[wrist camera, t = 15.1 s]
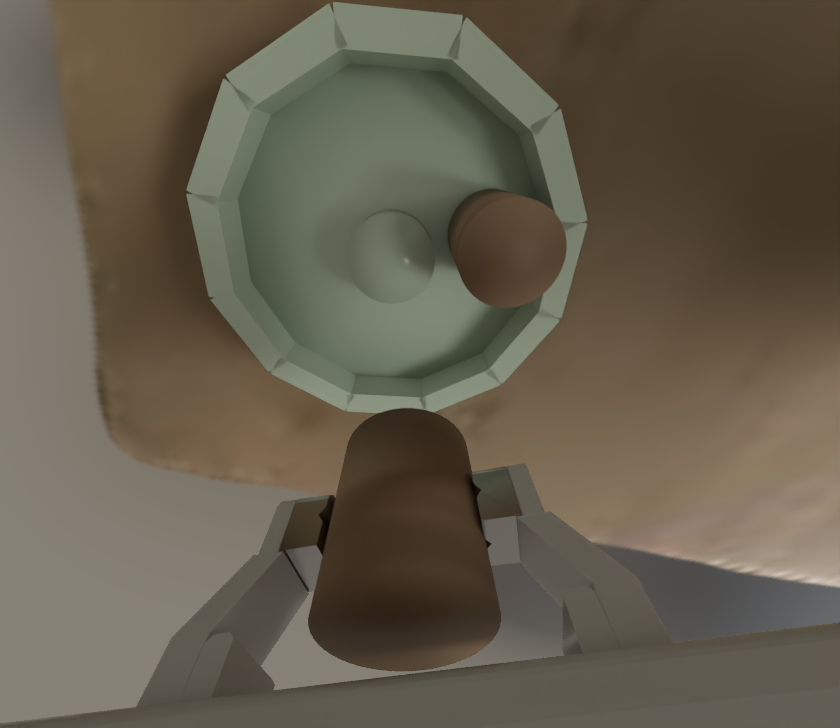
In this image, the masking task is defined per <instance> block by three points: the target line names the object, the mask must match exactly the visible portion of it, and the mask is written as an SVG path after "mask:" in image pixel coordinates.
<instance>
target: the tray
mask: <svg viewBox="0 0 840 728" xmlns="http://www.w3.org/2000/svg"><path fill="white" fill-rule="evenodd" d="M333 9H334V12H333V10H332V8H331V6H330V4H329V3H328V4H327V5H325V6H324V7H323V8H321V9H320V10H318V11H317V12H315V13H314V14H313V15H311V16H310V17H308V18H307V19H305V20H304V21H302V22H301V23H300V24H298V25H297V26H295V27H294V28H292V29H291V30H290V31H288V32H287V33H285V34H284V35H282V36H281V37H279V38H278V39H277V40H275V41H274V42H272V43H271V44H269V45H268V46H267V47H265V48H264V49H262V50H261V51H259V52H258V53H256V54H255V55H254V56H252V57H251V58H249V59H248V60H246V61H245V62H243V63H242V64H241V65H239V66H238V67H236V68H235V69H233V70H232V71H231V72H229V73H228V74H226V76H227V78H228V80H229V81H228V80H226V79H224V78H223V81H222V84H221V87H220V90H219V93H218V96H217V99H216V102H215V105H214V108H213V111H212V114H211V117H210V120H209V123H208V126H207V129H206V132H205V135H204V138H203V141H202V144H201V147H200V150H199V153H198V156H197V159H196V162H195V165H194V168H193V171H192V174H191V177H190V180H189V183H188V186H187V189H186V190H187V191H189V192H190V193H189V194H186V196H187V200H188V205H189V209H190V214H191V218H192V223H193V227H194V232H195V236H196V241H197V246H198V250H199V255H200V259H201V264H202V268H203V273H204V277H205V282H206V286H207V291H208V296H209V297H214V298H212V299H211V301H212V303H213V304H214V305H215V306H216V308H217V309H218V310H219V311H220V313H221V314H222V315H223V316H224V318H225V319H226V320H227V321H228V322H229V324H230V325H231V326H232V327H233V329H234V330H235V331H236V332H237V334H238V335H239V336H240V337H241V339H242V340H243V341H244V342H245V344H246V345H247V346H248V347H249V349H250V350H251V351H252V352H253V354H254V355H255V356H256V357H257V358H258V360H259V361H260V362H261V363H262V365H263V366H264V367H265V368H266V370H267V371H268V372H269V371H271V370H272V372H271V374H272V375H274V376H276V377H278V378H280V379H282V380H284V381H286V382H288V383H290V384H292V385H294V386H296V387H298V388H300V389H302V390H304V391H306V392H308V393H310V394H312V395H314V396H316V397H318V398H320V399H322V400H324V401H326V402H328V403H330V404H332V405H334V406H336V407H338V408H340V409H342V410H344V411H345V409H346V408H347V412H367V413H381V412H384V411H388V410H392V409H399V408H416V409H422V410H427V411H430V412H435V411H438V410H440V409H443V408H445V407H448V406H450V405H453V404H455V403H458V402H460V401H463V400H465V399H468V398H470V397H473V396H475V395H477V394H480V393H482V392H485V391H487V390H490V389H492V388H495V387H497V386H500V383H502V384H503V383H504V382H505V380H506V379H507V378H508V377H509V376H510V375H511V374H512V373H513V372H514V371H515V370H516V368H517V367H518V366H519V365H520V364H521V363H522V362H523V361H524V360H525V359H526V357H527V356H528V355H529V354H530V353H531V352H532V351H533V350H534V349H535V348H536V347H537V345H538V344H539V343H540V342H541V341H542V340H543V339H544V338H545V337H546V336H547V334H548V333H549V332H550V331H551V330H552V329H553V328H554V327H555V326H556V325H557V324H558V322H559V321H560V320H559V319H558V318H562V315H563V311H564V307H565V304H566V300H567V296H568V293H569V289H570V286H571V282H572V278H573V275H574V271H575V268H576V264H577V260H578V257H579V253H580V249H581V246H582V242H583V239H584V235H585V231H586V228H587V223H584V221H587V220H588V219H587V215H586V211H585V206H584V202H583V198H582V194H581V190H580V186H579V182H578V178H577V173H576V169H575V165H574V161H573V157H572V153H571V149H570V144H569V140H568V136H567V132H566V128H565V124H564V120H563V116H562V111H561V109H559V110H556V108H557V107H558V104H557V103H556V102H555V101H554V100H553V99H552V98H551V97H550V96H549V95H548V94H547V93H546V92H545V91H544V90H543V89H542V88H540V87H539V86H538V85H537V84H536V83H535V82H534V81H533V80H532V79H531V78H530V77H529V76H528V75H527V74H526V73H525V72H524V71H523V70H522V69H521V68H520V67H519V66H517V65H516V64H515V63H514V62H513V61H512V60H511V59H510V58H509V57H508V56H507V55H506V54H505V53H504V52H503V51H502V50H501V49H500V48H499V47H498V46H497V45H495V44H494V43H493V42H492V41H491V40H490V39H489V38H488V37H487V36H486V35H485V34H484V33H483V32H482V31H481V30H480V29H479V28H478V27H477V26H476V25H475V24H473V23H472V22H471V21H470V20H469V19H468V18H467V17H466V19H465V21H464V23H463V25H462V17H463V15H457V14H447V13H437V12H427V11H418V10H408V9H398V8H388V7H378V6H368V5H359V4H349V3H339V2H333ZM555 110H556V111H555ZM485 189H499V190H504V191H507V192H511V193H514V194H517V195H521V196H524V197H528V198H531V199H534V200H537V201H540V202H542V203H543V204H545V205H547V206H548V207H549V208H550V209H552V210H553V211H554V213H555V214H556V215H557V216H558V218H559V219H560V221H561V223H562V225H563V227H564V231H565V234H566V241H567V249H566V257H565V261H564V264H563V267H562V270H561V271H560V273H559V275H558V277H557V279H556V280H555V282H554V283H553V284H552V285H551V287H550V288H549V289H548V290H547V291H546V292H545V293H543V294H542V295H541V296H539V297H538V298H536V299H535V300H533V301H531V302H529V303H527V304H524V305H521V306H517V307H510V308H500V307H494V306H490V305H487V304H485V303H483V302H481V301H480V300H478V299H477V298H475V297H474V296H473V295H472V294H471V293H470V292H469V291H468V290H467V288H466V286H465V285H464V283H463V281H462V279H461V276H460V274H459V271H458V269H457V266H456V264H455V261H454V259H453V256H452V254H451V251H450V248H449V244H448V227H449V223H450V220H451V217H452V215H453V213H454V211H455V210H456V208H457V207H458V206H459V204H460V203H461V202H462V201H463V200H464V199H466V198H467V197H468V196H470V195H471V194H473V193H475V192H478V191H481V190H485ZM499 382H500V383H499Z"/></svg>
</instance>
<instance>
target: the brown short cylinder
mask: <svg viewBox="0 0 840 728" xmlns="http://www.w3.org/2000/svg"><path fill="white" fill-rule="evenodd" d="M471 472H472V470H471V465H470V460H469V456H468V451H467V446H466V442H465V440H464V438H463V436H462V434H461V433H460V431H459V430H458V429H457V428H456V426H455V425H454V424H452V423H451V422H450V421H449V420H447V419H446V418H444V417H442V416H440V415H438V414H436V413H433V412H430V411H427V410H422V409H416V408H399V409H392V410H388V411H384V412H381V413H378V414H376V415H374V416H372V417H370V418H369V419H367V420H366V421H364V422H363V423H362V424H361V425H359V426H358V428H357V429H356V430H355V431H354V432H353V434H352V436H351V437H350V440H349V442H348V446H347V450H346V454H345V459H344V463H343V468H342V472H341V476H340V481H339V485H338V490H337V494H336V498H335V503H334V507H333V512H332V516H331V521H330V525H329V529H328V534H327V538H326V543H325V547H324V551H323V556H322V560H321V565H320V569H319V574H318V578H317V582H316V587H315V591H314V596H313V600H312V605H311V610H310V613H309V618H308V624H309V629H310V633H311V634H312V636H313V638H314V640H315V641H316V642H317V643H318V644H319V645H320V646H321V647H322V648H323V649H324V650H326V651H327V652H328V653H330V654H331V655H333V656H335V657H337V658H339V659H341V660H343V661H346V662H349V663H352V664H355V665H358V666H362V667H366V668H371V669H378V670H387V671H417V670H426V669H433V668H438V667H442V666H446V665H449V664H453V663H456V662H458V661H461V660H463V659H466V658H468V657H470V656H472V655H474V654H475V653H477V652H479V651H480V650H482V649H483V648H484V647H486V646H487V645H488V644H489V643H490V642H491V641H492V640H493V638H494V637H495V636H496V634H497V632H498V630H499V628H500V623H501V612H500V608H499V603H498V598H497V593H496V588H495V583H494V579H493V573H492V568H491V563H490V558H489V554H488V549H487V544H486V539H485V538H484V535H483V531H482V526H481V521H480V516H479V510H478V504H477V500H476V496H475V491H474V486H473V480H472V474H471Z"/></svg>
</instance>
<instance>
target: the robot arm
mask: <svg viewBox="0 0 840 728" xmlns="http://www.w3.org/2000/svg"><path fill="white" fill-rule="evenodd" d="M471 474H472V480H473V486H474V491H475V496H476V500H477V504H478V510H479V516H480V521H481V526H482V531H483V535H484V538H485V539H486V544H487V549H488V554H489V558H490V563H491V566H492V565H501V564H510V563H519V562H521V564H522V565H523V566H524V568H526V570H527V571H528V572H529V573H530V574H531V575H532V576H533V578H534V579H535V580H536V581H537V582H538V583H539V584H540V585H541V586H542V587H543V589H544V590H545V591H546V592H547V593H548V594H549V595H550V596H551V597H552V598H553V600H554V601H555V602H556V603H557V604H558V605H559V606H560V607H561V608H562V610H563V635H562V636H563V637H562V639H563V640H562V642H563V643H562V645H563V646H562V649H563V653H564V656H557V657H549V658H541V659H532V660H525V661H516V662H508V663H499V664H490V665H482V666H474V667H466V668H457V669H449V670H440V671H432V672H424V673H415V674H407V675H399V676H391V677H382V678H374V679H365V680H357V681H349V682H340V683H333V684H323V685H315V686H307V687H298V688H291V689H282V690H274V686H275V684H274V682H273V680H272V679H271V677H270V676H269V675H268V674H267V673H266V672H265V671H264V670H263V669H262V667H261V665H262V663H263V662H264V660H265V659H266V657H267V655H268V654H269V653H270V651H271V650H272V648H273V647H274V645H275V644H276V642H277V641H278V639H279V638H280V636H281V635H282V633H283V632H284V630H285V629H286V627H287V625H288V624H289V623H290V621H291V620H292V618H293V617H294V615H295V614H296V612H297V611H298V609H299V608H300V606H301V605H302V603H303V602H304V600H305V599H306V597H307V596H308V594H309V593H308V592H311V591H315V587H316V582H317V578H318V574H319V569H320V565H321V560H322V556H323V551H324V547H325V543H326V538H327V534H328V529H329V525H330V521H331V516H332V512H333V507H334V503H335V496H334V495H327V496H319V497H312V498H305V499H298V500H291V501H284V502H282V503H280V505H279V506H278V507H277V509H276V512H275V514H274V517H273V519H272V522H271V524H270V527H269V530H268V532H267V535H266V537H265V539H264V542H263V544H262V547H261V549H260V552H259V554H258V555H254V556H252V557H251V559H249V561H247V562H246V563H245V564H244V565H243V567H241V568H240V570H239V571H238V572H237V573H236V574H235V575H234V576H233V577H232V578H231V579H230V580H229V581H228V582H227V583H226V584H225V585H224V586H223V587H222V588H221V589H220V590H219V591H218V592H217V593H216V594H215V595H214V596H213V597H212V598H211V599H210V600H209V601H208V602H207V603H206V604H205V605H204V606H203V607H202V608H201V609H200V610H199V611H198V612H197V613H196V614H195V615H194V616H193V617H192V618H191V619H190V620H189V621H188V622H187V623H186V624H185V625H184V626H183V627H182V628H181V629H180V630H179V631H178V632H177V633H176V634H175V635H174V636H173V637H172V638H171V640H170V642H169V644H168V646H167V648H166V650H165V652H164V654H163V656H162V657H161V659H160V661H159V664H158V665H157V667H156V669H155V671H154V673H153V675H152V677H151V679H150V681H149V683H148V685H147V687H146V689H145V691H144V693H143V695H142V697H141V698H140V700H139V702H138V705H137V706H136V707H132V708H124V709H115V710H107V711H99V712H91V713H82V714H74V715H66V716H57V717H50V718H41V719H32V720H24V721H16V722H8V723H0V728H840V623H832V624H823V625H815V626H807V627H799V628H791V629H782V630H774V631H766V632H757V633H749V634H740V635H732V636H724V637H716V638H707V639H699V640H691V641H682V642H674V643H673V642H672V640H671V638H670V636H669V635H668V633H667V631H666V629H665V627H664V625H663V624H662V622H661V620H660V618H659V616H658V615H657V613H656V611H655V609H654V608H653V606H652V604H651V602H650V601H649V598H648V597H647V595H646V593H645V591H644V589H643V588H642V586H641V584H640V582H639V580H638V579H637V577H636V576H635V575H634V574H632V573H631V572H630V571H628V570H627V569H626V568H624V567H623V566H622V565H620V564H619V563H618V562H616V561H615V560H614V559H612V558H611V557H610V556H608V555H607V554H606V553H605V552H603V551H602V550H601V549H599V548H598V547H597V546H595V545H594V544H593V543H591V542H590V541H589V540H587V539H586V538H585V537H583V536H582V535H581V534H580V533H578V532H577V531H576V530H574V529H573V528H572V527H570V526H569V525H568V524H566V523H565V522H564V521H562V520H561V519H560V518H558V517H557V516H556V515H554V514H553V513H552V512H545V511H544V509H543V506H542V504H541V501H540V499H539V496H538V494H537V491H536V489H535V486H534V484H533V481H532V479H531V476H530V474H529V471H528V469H527V466H526V465H525V464H518V465H512V466H507V467H500V468H494V469H488V470H482V471H476V472H471Z"/></svg>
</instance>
